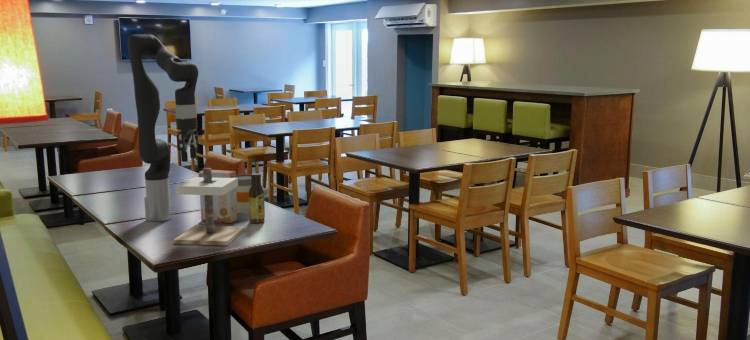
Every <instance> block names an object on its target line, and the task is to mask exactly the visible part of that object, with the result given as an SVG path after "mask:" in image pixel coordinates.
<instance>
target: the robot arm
mask: <svg viewBox="0 0 750 340" xmlns="http://www.w3.org/2000/svg"><path fill="white" fill-rule="evenodd" d="M127 49H128V50H127V51H128V56H129V63H130V67H131V71H132V72H131V73H132V79H133V87H134V88H133V89H134V99H135V100H134V101H135V108H136V117H137V128H138V153H139V154H138V155H139V157H140V159H141V161H142V162H143V163H145V164H150V165H149V167H148V169H147V170H146V171H144V184H145V197H144V198H143V201H144V213H145V216H144V217H145V221H149V222H165V221H168V220H170V219H172V211H171V210H172V209H171V208H172V207H171V197H170V181H169V180H170V179H169V174H170V171H171V151H170V147H169V144H168V143H167V142H166V141H165V140H164V139H162V138H156V130H155V129H156V123H157V120H158V118H159V115H160V110H161V100H160V99H161V98H160V92H159V89H158V87H157V86H156V84H155V83H154V81H153V79H151V77H150V76H149V75H148V73H147V71H146V70H145V68H144V64H143V59H149V58H150V59H151V58H155V61H156V62H155V63H156V64H157V66H158V67H159V68H160V69H162V70H163V71H164V72H165V73H166V74H167V76H168V78H169V79H170V80H171V81H172V82H176V83H181V82H185V84H184V85H183V87H181V88H177V89H176V90H175V91H174V99H175V112H174V113H175V125H176V126H175V129H176V130H177V131H180V133H178V134H176V146H177V149H176V150H177V151H179V152H180V160H181V162H182V163H187V162H188V161H189V158H190V159H196V158H197V148H198V147H199V132H198V130H197V129H198V115H197V113H198V112H197V108H196V96H195V95H196V94H195V93H196V88H197V82H198V78H199V69H198V67H197V65H196V63H194V62H191V61H188V62H185V61H184V62H183V61H182V60H181V58H180V57H178V56H177V55H175V54H174V53H172V52H171V51H169V50H168V49H167V48H166V46H165V45H164V44H163V43H162V42H161V40H159V38H157V37H156V36H155V35H153V34H149V33H148V34H143V33H142V34H141V33H140V34H139V33H138V34H137V33H136V34H135V33H134V34H133V33H132V34H131V35H129V36H128V38H127ZM188 148H189V156H188Z"/></svg>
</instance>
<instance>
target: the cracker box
mask: <svg viewBox="0 0 750 340" xmlns="http://www.w3.org/2000/svg"><path fill="white" fill-rule="evenodd" d="M211 170H212V178H236V175H237V174H236V170H222V169H211ZM198 177H203V170H200V171H198ZM199 198H200V201H199V202H200V215H201V216H200V217H201V222H206V216H205V197H204V195H199ZM213 210H214V223H224V224H232V223H234V222H237V221H238V220H239V219H238V213H237V195H236V187H235V188H234V189H232V190H230V191H229V192H227V193H225V194H224V195H213Z"/></svg>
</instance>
